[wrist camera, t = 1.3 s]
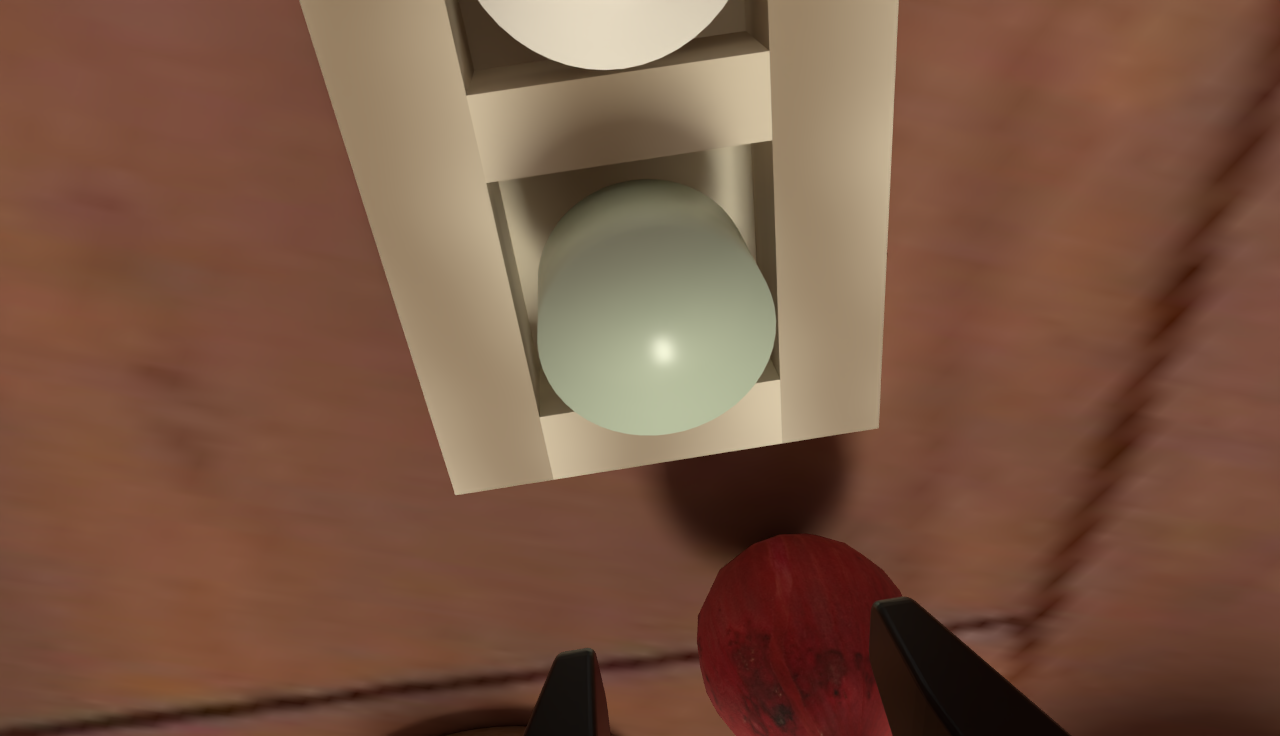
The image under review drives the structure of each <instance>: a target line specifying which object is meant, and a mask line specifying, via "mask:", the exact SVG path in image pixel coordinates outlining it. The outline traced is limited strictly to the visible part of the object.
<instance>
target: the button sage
mask: <svg viewBox="0 0 1280 736" xmlns="http://www.w3.org/2000/svg"><path fill="white" fill-rule="evenodd" d="M775 335H776V315H775V306H774V303H773V299H772V295H771V292H770V290H769V288H768V285H767V283H766V281H765V279H764V277H763V275H762V273H761V271H760V270H759V268H758V266H757V264H756V262H755V260H754V258H753V256H752V254H751V253H750V251H749V249H748V247H747V245H746V243H745V241H744V239H743V237H742V236H741V234H740V232H739V230H738V228H737V227H736V225H735V223H734V222H733V220H732V219H731V218H730V216H729V215H728V214H727V213H726V212H725V211H724V209H723V208H722V207H720V206H719V205H718V204H717V203H716V202H715V201H714V200H712V199H711V198H709V197H708V196H706V195H705V194H703V193H702V192H700V191H697V190H695V189H693V188H691V187H689V186H686V185H683V184H680V183H676V182H672V181H666V180H659V179H639V180H630V181H625V182H621V183H616V184H613V185H611V186H608V187H605V188H602V189H600V190H598V191H596V192H594V193H592V194H590V195H589V196H587V197H586V198H584V199H583V200H581V201H580V202H578V203H577V204H576V205H575V206H574V207H572V208H571V209H570V210H569V211H568V212H567V213H566V214H565V215H564V216H563V217H562V218H561V220H560V221H559V222H558V223H557V225H556V226H555V228H554V229H553V231H552V232H551V234H550V235H549V238H548V240H547V242H546V244H545V246H544V249H543V252H542V255H541V258H540V263H539V270H538V326H537V345H538V352H539V358H540V361H541V365H542V368H543V371H544V373H545V375H546V377H547V379H548V382H549V383H550V385H551V386H552V388H553V389H554V391H555V392H556V394H557V395H558V396H559V397H560V398H561V399H562V401H563V402H564V403H565V404H566V405H567V406H569V407H570V408H571V409H572V410H573V411H574V412H576V413H577V414H579V415H580V416H582V417H583V418H585V419H586V420H588V421H590V422H592V423H594V424H596V425H598V426H601V427H603V428H606V429H609V430H612V431H616V432H621V433H625V434H632V435H665V434H672V433H677V432H682V431H686V430H689V429H692V428H695V427H698V426H700V425H702V424H705V423H707V422H709V421H711V420H713V419H715V418H717V417H718V416H720V415H722V414H723V413H725V412H726V411H728V410H729V409H730V408H732V407H733V406H734V405H736V404H737V403H738V402H739V401H740V400H741V399H742V398H743V397H744V396H745V395H746V394H747V393H748V392H749V391H750V390H751V388H752V387H753V386H754V385H755V384H756V382H757V381H758V379H759V378H760V376H761V374H762V373H763V371H764V369H765V367H766V365H767V363H768V361H769V358H770V355H771V352H772V349H773V345H774V340H775Z"/></svg>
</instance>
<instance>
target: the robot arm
mask: <svg viewBox="0 0 1280 736" xmlns="http://www.w3.org/2000/svg"><path fill="white" fill-rule="evenodd" d="M869 656H870V662H871V667H872V670H873V674H874V677H875V680H876V684H877V687H878V690H879V693H880V697H881V700H882V703H883V706H884V710H885V713H886V716H887V719H888V723H889V726H890V729H891V732H892V736H1071V735H1070V734H1069V733H1068V732H1067V731H1065V730H1064V729H1063V728H1062V727H1061V726H1060V725H1058V724H1057V723H1056V722H1055V721H1054V720H1053V719H1051V718H1050V717H1049V716H1048V715H1047V714H1046V713H1044V712H1043V711H1042V710H1041V709H1040V708H1039V707H1038V706H1036V705H1035V704H1034V703H1033V702H1032V701H1031V700H1029V699H1028V698H1027V697H1026V696H1025V695H1024V694H1022V693H1021V692H1020V691H1019V690H1018V689H1017V688H1015V687H1014V686H1013V685H1012V684H1011V683H1010V682H1009V681H1007V680H1006V679H1005V678H1004V677H1003V676H1002V675H1000V674H999V673H998V672H997V671H996V670H995V669H993V668H992V667H991V666H990V665H989V664H988V663H986V662H985V661H984V660H983V659H982V658H981V657H979V656H978V655H977V654H976V653H975V652H974V651H973V650H971V649H970V648H969V647H968V646H967V645H966V644H964V643H963V642H962V641H961V640H960V639H959V638H957V637H956V636H955V635H954V634H953V633H952V632H950V631H949V630H948V629H947V628H946V627H945V626H944V625H942V624H941V623H940V622H939V621H938V620H937V619H935V618H934V617H933V616H932V615H931V614H930V613H928V612H927V611H926V610H925V609H924V608H923V607H921V606H920V605H919V604H918V603H917V602H916V601H914V600H913V599H911V598H908V597H897V598H891V599H884V600H878V601H876V602H874V603H873V605H872V607H871V615H870V637H869ZM523 736H610V727H609V717H608V709H607V702H606V696H605V691H604V687H603V683H602V678H601V674H600V669H599V665H598V660H597V656H596V653H595V651H594V650H593V649H591V648H584V649H578V650H572V651H565V652H562V653H560V654H558V655H557V657H556V658H555V660H554V662H553V664H552V667H551V669H550V671H549V674H548V676H547V679H546V681H545V683H544V686H543V688H542V691H541V693H540V696H539V698H538V700H537V703H536V705H535V708H534V710H533V712H532V715H531V717H530V720H529V722H528V724H527V727H526V729H525V732H524V734H523Z"/></svg>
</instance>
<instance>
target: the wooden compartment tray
mask: <svg viewBox="0 0 1280 736" xmlns="http://www.w3.org/2000/svg"><path fill="white" fill-rule="evenodd" d="M299 1H300V4H301V8H302V11H303V14H304V17H305V20H306V23H307V27H308V30H309V33H310V36H311V39H312V42H313V46H314V49H315V52H316V55H317V58H318V61H319V65H320V68H321V71H322V74H323V77H324V80H325V84H326V87H327V90H328V93H329V96H330V99H331V103H332V106H333V109H334V112H335V115H336V118H337V122H338V125H339V128H340V131H341V134H342V137H343V141H344V144H345V147H346V150H347V153H348V156H349V160H350V163H351V166H352V169H353V172H354V175H355V179H356V182H357V185H358V188H359V191H360V194H361V198H362V201H363V204H364V207H365V210H366V213H367V217H368V220H369V223H370V226H371V229H372V232H373V236H374V239H375V242H376V245H377V248H378V251H379V255H380V258H381V261H382V264H383V267H384V270H385V274H386V277H387V280H388V283H389V286H390V289H391V293H392V296H393V299H394V302H395V305H396V308H397V312H398V315H399V318H400V321H401V324H402V327H403V331H404V334H405V337H406V340H407V343H408V346H409V350H410V353H411V356H412V359H413V362H414V365H415V369H416V372H417V375H418V378H419V381H420V384H421V388H422V391H423V394H424V397H425V400H426V403H427V407H428V410H429V413H430V416H431V419H432V422H433V426H434V429H435V432H436V435H437V438H438V441H439V445H440V448H441V451H442V454H443V457H444V460H445V464H446V467H447V470H448V473H449V476H450V479H451V483H452V486H453V489H454V492H455V495H460V494H466V493H472V492H479V491H485V490H491V489H498V488H504V487H510V486H516V485H523V484H529V483H535V482H542V481H548V480H554V479H561V478H567V477H573V476H580V475H586V474H592V473H599V472H605V471H611V470H617V469H624V468H630V467H636V466H643V465H649V464H655V463H662V462H668V461H674V460H681V459H687V458H693V457H700V456H706V455H712V454H718V453H725V452H731V451H737V450H744V449H750V448H756V447H763V446H769V445H775V444H782V443H788V442H794V441H801V440H807V439H813V438H819V437H826V436H832V435H838V434H845V433H851V432H857V431H864V430H870V429H876V428H879V410H880V388H881V367H882V345H883V324H884V303H885V281H886V260H887V239H888V217H889V196H890V174H891V153H892V132H893V110H894V89H895V68H896V46H897V25H898V3H899V0H728V1H727V3H726V4H725V6H724V7H723V9H722V10H721V11H720V12H719V13H718V14H717V16H716V17H715V18H714V19H713V20H712V21H711V23H710V24H709V25H708V26H707V27H706V28H704V29H703V30H702V31H701V32H700V33H699V34H698V35H697V36H696V37H695V38H693V39H692V40H690V41H689V42H687V43H686V44H685V45H683V46H682V47H680V48H679V49H677V50H675V51H673V52H672V53H670V54H668V55H666V56H664V57H662V58H660V59H657V60H654V61H651V62H649V63H646V64H643V65H639V66H634V67H629V68H625V69H613V70H596V69H585V68H579V67H574V66H569V65H566V64H563V63H560V62H557V61H554V60H551V59H549V58H547V57H545V56H543V55H541V54H538V53H536V52H534V51H532V50H531V49H529V48H528V47H526V46H525V45H523V44H522V43H520V42H519V41H517V40H516V39H514V38H513V37H512V36H511V35H510V34H509V33H507V32H506V31H505V30H504V29H503V28H502V27H500V26H499V25H498V24H497V22H496V21H495V20H494V19H493V18H492V17H491V16H490V15H489V14H488V13H487V11H486V10H485V9H484V8H483V6H482V5H481V4H480V2H479V1H478V0H299ZM639 179H659V180H666V181H672V182H676V183H680V184H683V185H686V186H689V187H691V188H693V189H695V190H697V191H700V192H702V193H703V194H705V195H706V196H708V197H709V198H711V199H712V200H714V201H715V202H716V203H717V204H718V205H719V206H720V207H722V208H723V209H724V211H725V212H726V213H727V214H728V215H729V216H730V218H731V219H732V220H733V222H734V223H735V225H736V227H737V228H738V230H739V232H740V234H741V236H742V237H743V239H744V241H745V243H746V245H747V247H748V249H749V251H750V253H751V254H752V256H753V258H754V260H755V262H756V264H757V266H758V268H759V270H760V271H761V273H762V275H763V277H764V279H765V281H766V283H767V285H768V288H769V290H770V292H771V295H772V299H773V303H774V306H775V315H776V335H775V340H774V345H773V349H772V352H771V355H770V358H769V361H768V363H767V365H766V367H765V369H764V371H763V373H762V374H761V376H760V378H759V379H758V381H757V382H756V384H755V385H754V386H753V387H752V388H751V390H750V391H749V392H748V393H747V394H746V395H745V396H744V397H743V398H742V399H741V400H740V401H739V402H738V403H737V404H736V405H734V406H733V407H732V408H730V409H729V410H728V411H726V412H725V413H723V414H722V415H720V416H718V417H717V418H715V419H713V420H711V421H709V422H707V423H705V424H702V425H700V426H698V427H695V428H692V429H689V430H686V431H682V432H677V433H672V434H665V435H632V434H625V433H621V432H616V431H612V430H609V429H606V428H603V427H601V426H598V425H596V424H594V423H592V422H590V421H588V420H586V419H585V418H583V417H582V416H580V415H579V414H577V413H576V412H574V411H573V410H572V409H571V408H570V407H569V406H567V405H566V404H565V403H564V402H563V401H562V399H561V398H560V397H559V396H558V395H557V394H556V392H555V391H554V389H553V388H552V386H551V385H550V383H549V382H548V379H547V377H546V375H545V373H544V371H543V368H542V365H541V361H540V358H539V352H538V345H537V326H538V270H539V263H540V258H541V255H542V252H543V249H544V246H545V244H546V242H547V240H548V238H549V235H550V234H551V232H552V231H553V229H554V228H555V226H556V225H557V223H558V222H559V221H560V220H561V218H562V217H563V216H564V215H565V214H566V213H567V212H568V211H569V210H570V209H571V208H572V207H574V206H575V205H576V204H577V203H578V202H580V201H581V200H583V199H584V198H586V197H587V196H589V195H590V194H592V193H594V192H596V191H598V190H600V189H602V188H605V187H608V186H611V185H613V184H616V183H621V182H625V181H630V180H639Z"/></svg>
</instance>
